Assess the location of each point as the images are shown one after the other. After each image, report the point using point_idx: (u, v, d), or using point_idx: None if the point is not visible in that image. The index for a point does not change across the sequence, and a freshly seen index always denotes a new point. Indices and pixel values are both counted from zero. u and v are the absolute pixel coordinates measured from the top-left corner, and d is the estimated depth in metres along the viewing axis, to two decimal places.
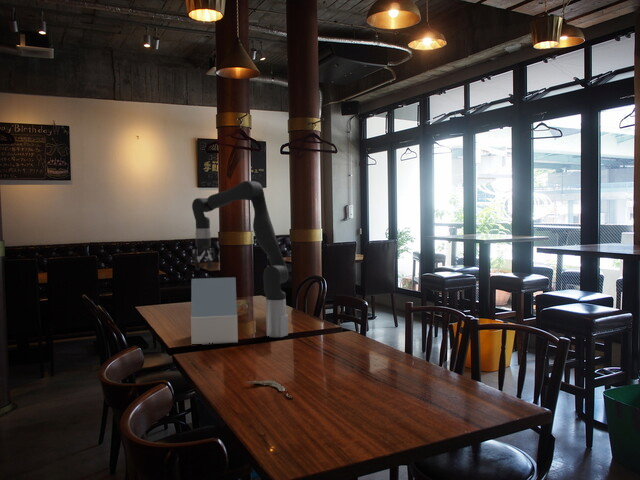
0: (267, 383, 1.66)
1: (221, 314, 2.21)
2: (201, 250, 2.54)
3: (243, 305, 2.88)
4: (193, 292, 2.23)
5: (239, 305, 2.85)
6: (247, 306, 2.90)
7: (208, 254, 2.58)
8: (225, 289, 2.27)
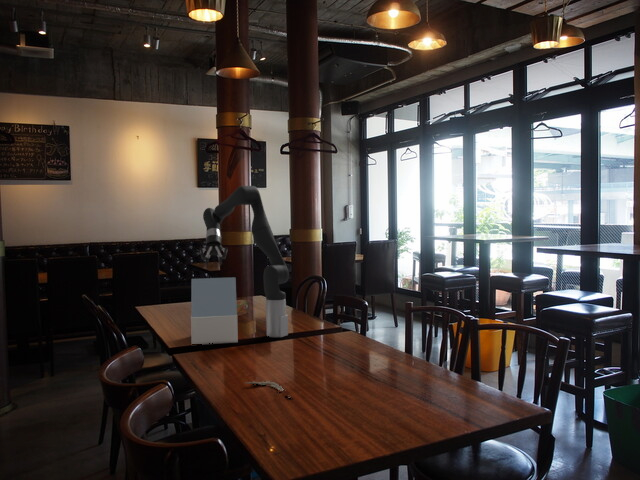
0: (266, 384, 1.66)
1: (221, 314, 2.21)
2: (208, 247, 2.50)
3: (243, 305, 2.88)
4: (193, 292, 2.23)
5: (239, 305, 2.85)
6: (247, 306, 2.90)
7: (216, 249, 2.49)
8: (225, 289, 2.27)
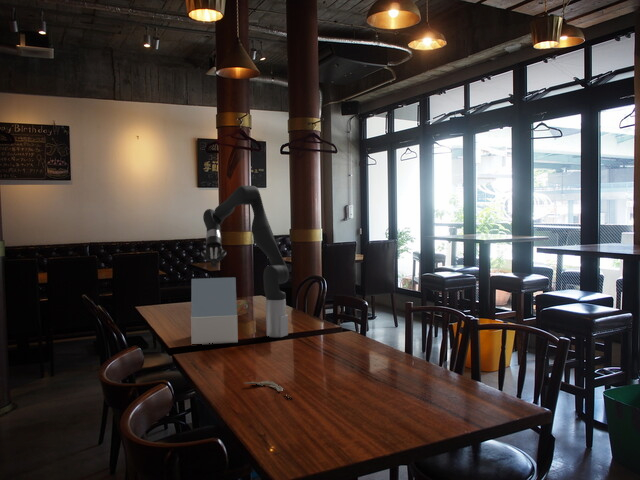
0: (265, 384, 1.65)
1: (221, 314, 2.21)
2: (208, 249, 2.49)
3: (243, 305, 2.88)
4: (193, 292, 2.23)
5: (239, 305, 2.85)
6: (247, 306, 2.90)
7: (215, 251, 2.48)
8: (225, 289, 2.27)
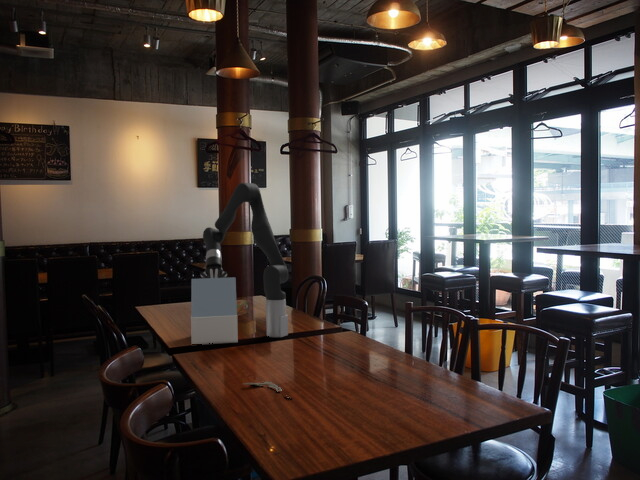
0: (264, 384, 1.65)
1: (221, 314, 2.21)
2: (208, 271, 2.38)
3: (243, 305, 2.88)
4: (193, 292, 2.23)
5: (239, 305, 2.85)
6: (247, 306, 2.90)
7: (215, 272, 2.37)
8: (225, 289, 2.27)
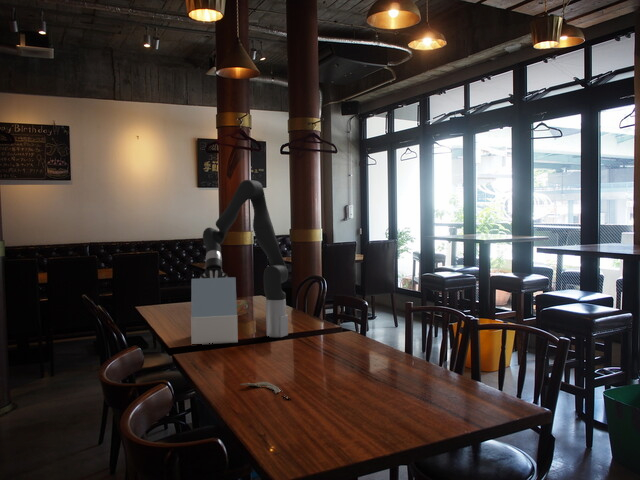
0: (262, 385, 1.64)
1: (221, 314, 2.21)
2: (207, 273, 2.32)
3: (243, 305, 2.88)
4: (193, 292, 2.23)
5: (239, 305, 2.85)
6: (247, 306, 2.90)
7: (215, 274, 2.31)
8: (225, 289, 2.27)
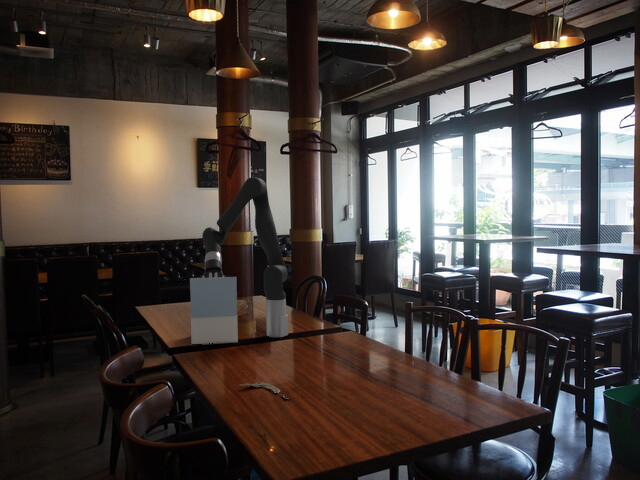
0: (260, 385, 1.64)
1: (221, 315, 2.21)
2: (207, 275, 2.23)
3: (243, 305, 2.88)
4: (192, 293, 2.15)
5: (239, 305, 2.85)
6: (247, 306, 2.90)
7: (214, 276, 2.23)
8: (225, 290, 2.18)
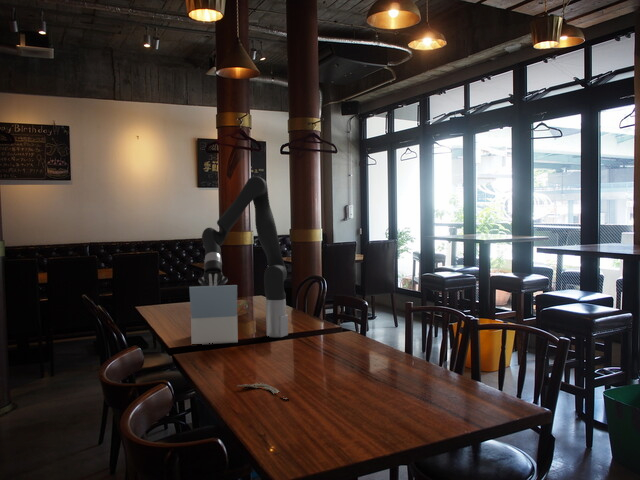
0: (259, 386, 1.63)
1: (221, 316, 2.21)
2: (206, 276, 2.19)
3: (243, 305, 2.88)
4: (192, 299, 2.12)
5: (239, 305, 2.85)
6: (247, 306, 2.90)
7: (214, 277, 2.18)
8: (225, 296, 2.14)
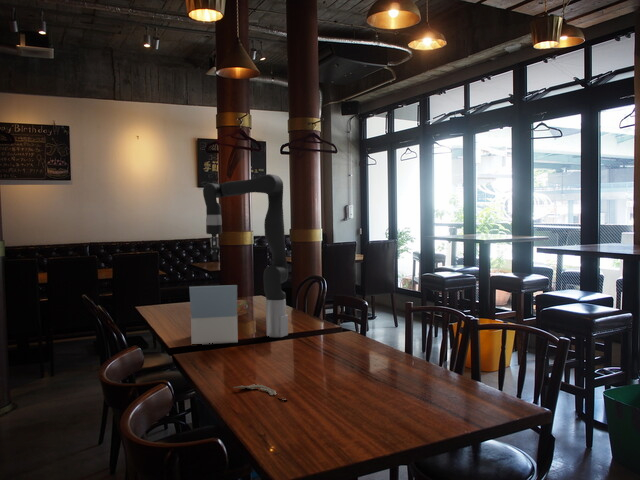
0: (255, 387, 1.62)
1: (221, 316, 2.21)
2: (216, 239, 2.44)
3: (243, 305, 2.88)
4: (192, 299, 2.12)
5: (239, 305, 2.85)
6: (247, 306, 2.90)
7: None
8: (225, 296, 2.14)
